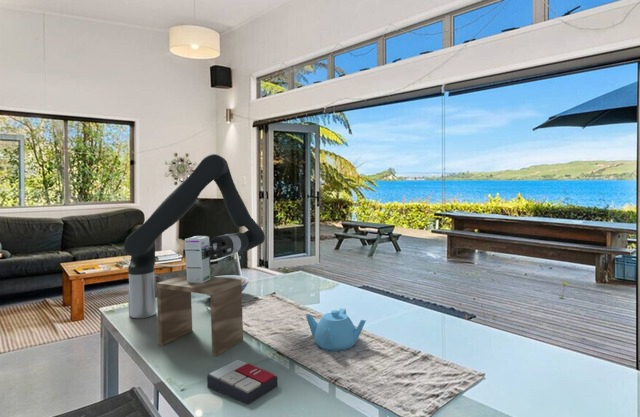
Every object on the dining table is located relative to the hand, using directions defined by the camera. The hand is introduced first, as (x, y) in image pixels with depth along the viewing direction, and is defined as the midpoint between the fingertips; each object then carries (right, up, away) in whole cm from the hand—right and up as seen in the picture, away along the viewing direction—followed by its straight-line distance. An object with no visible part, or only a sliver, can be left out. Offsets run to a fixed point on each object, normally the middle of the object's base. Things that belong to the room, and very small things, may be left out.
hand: (194, 253), depth 134 cm
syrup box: (+1, -10, +3) cm, 10 cm away
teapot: (+45, -30, +2) cm, 54 cm away
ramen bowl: (-3, -26, +55) cm, 61 cm away
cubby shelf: (+1, -30, +4) cm, 30 cm away
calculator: (+20, -33, -25) cm, 46 cm away
